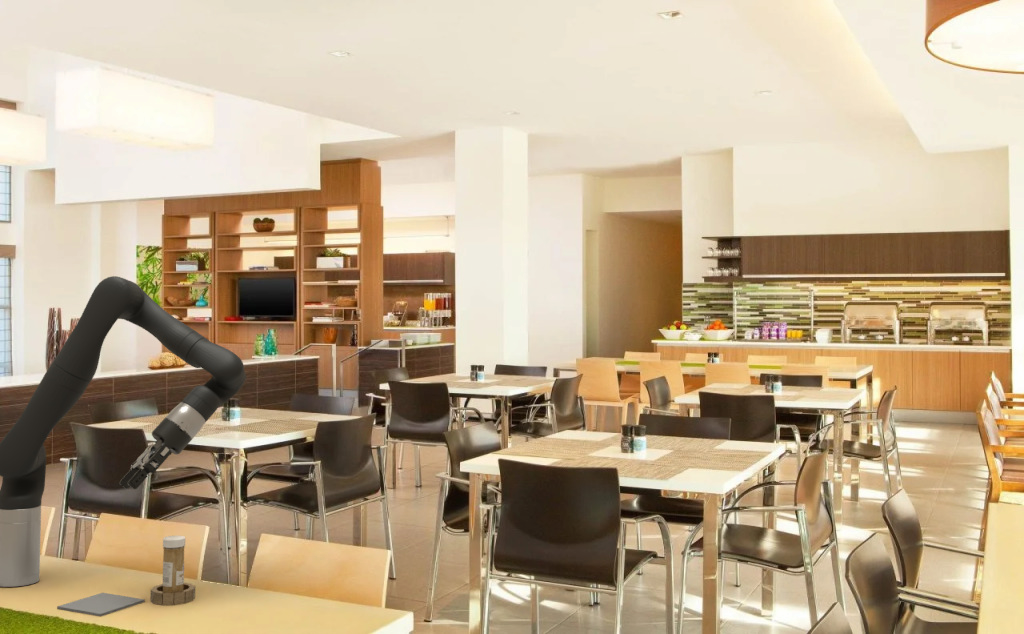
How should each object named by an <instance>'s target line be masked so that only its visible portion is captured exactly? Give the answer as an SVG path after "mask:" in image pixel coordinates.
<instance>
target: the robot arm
mask: <svg viewBox="0 0 1024 634" xmlns="http://www.w3.org/2000/svg"><path fill="white" fill-rule="evenodd" d="M85 305H86V306H85V308H84V309H83V311H82V314H81V316H80V318H79V319H78V322H77V323H76V324H75V327H74V329H72V332H70V335H68V337H67V339H66V341H65V342H64V344H63V346H62V347H61V349H60V351H59V352H58V353H57V355H56V356H55V357H54V359H53V361H52V362H51V364H50V365H49V367H48V369H47V370H46V372H45V374H44V375H43V377H42V378H41V380H40V383H39V384H38V385H37V387H36V388H35V391H33V394H32V395H31V397H30V400H29V401H28V402H27V405H26V407H25V408H24V410H23V411H22V413H21V415H20V416H19V417H18V419H17V420H16V422H15V423H14V424H13V426H12V427H11V428H10V429H9V430H8V432H7V433H6V434H5V436H4V437H3V438H2V439H1V440H0V477H2V482H1V486H0V587H4V588H8V587H9V588H10V587H13V588H14V587H22V586H28V585H33V584H36V583H38V582H39V581H40V576H41V575H40V573H41V572H40V571H41V569H40V568H41V567H40V566H41V535H42V533H41V531H42V527H41V526H42V499H43V495H44V493H45V492H44V491H45V486H46V473H47V469H46V468H47V467H46V466H47V452H46V448H45V445H44V443H45V442H46V440H47V438H48V437H49V436H50V433H51V432H52V431H53V429H54V428H55V427H56V426H57V425H58V423H60V421H61V420H62V419H63V418H64V417H65V416H66V415H67V413H68V412H70V410H72V408H74V406H75V405H76V404H77V403H78V401H79V400H80V399H81V398H82V396H83V394H84V393H85V391H86V390H87V389H88V386H89V385H90V383H91V382H92V381H93V379H94V377H95V375H96V372H97V369H98V367H99V361H100V357H101V351H102V348H103V347H102V346H103V345H104V342H105V340H106V337H107V336H108V334H109V332H110V331H111V329H112V328H113V326H114V324H115V323H116V322H117V321H118V320H119V319H120V320H124V321H126V322H129V323H131V324H133V325H135V326H138V327H139V328H141V329H143V330H145V331H147V332H148V333H149V334H150V335H152V336H153V337H154V338H155V339H156V340H158V341H159V342H160V344H162V345H163V346H164V347H165V348H166V349H167V351H170V352H171V353H172V354H173V355H175V356H176V357H178V358H179V359H181V360H182V361H184V362H185V363H186V364H187V365H189V366H191V367H193V368H195V369H203V370H204V371H206V372H208V373H209V374H210V375H211V376H212V377H211V378H210V379H209V380H208V381H207V382H205V383H204V384H203V385H201V384H200V385H197V386H194V388H192V390H190V392H189V393H188V394H187V395H185V397H184V398H183V400H182V401H180V402H179V404H177V405H176V406H175V407H174V408H173V409H171V410H170V411H169V413H168V414H166V416H165V417H164V418H163V419H162V421H160V423H159V424H158V425H156V427H155V428H154V429H153V430H152V432H151V436H152V438H153V439H154V440H156V443H154V444H153V445H149V446H147V447H146V448H145V450H144V451H143V452H142V453H141V454H140V455H139V456H138V457H137V459H136V460H135V461H134V462H132V463H131V465H130V469H129V470H128V472H127V473H126V474H125V475H124V476H123V477H122V478H121V479H120V481H119V485H120V486H121V487H123V488H124V489H129V488H131V489H133V490H136V489H138V488H139V487H140V485H142V483H143V482H144V481H146V479H148V476H152V474H154V473H156V472H157V470H158V469H159V468H160V467H161V465H162V464H164V462H165V461H166V460H167V459H168V457H169V456H170V455H172V454H174V455H179V454H180V453H182V451H183V450H184V449H186V447H187V446H188V445H189V444H190V443H191V442H192V440H193V439H194V438H195V437H196V436H197V435H198V434H199V432H200V431H201V430H202V428H203V427H204V425H205V424H206V423H207V422H208V420H209V419H210V418H211V417H212V416H213V415H214V414H215V412H217V410H218V408H220V407H221V406H222V405H224V404H225V403H227V402H228V401H229V400H230V399H231V398H233V397H234V396H235V395H237V393H238V392H239V391H240V390H241V389H242V387H243V386H244V384H245V381H246V378H247V377H246V376H247V375H246V371H245V366H244V363H243V360H242V359H241V358H240V356H238V355H237V354H236V353H235V352H233V351H231V350H230V349H228V348H226V347H225V346H224V347H223V346H221V345H219V344H217V343H214V342H212V341H210V339H208V338H207V337H205V336H203V335H202V334H201V333H199V332H197V330H195V329H194V328H191V327H190V326H189V325H187V324H185V323H184V322H182V321H180V319H178V318H176V317H174V316H173V315H171V314H170V313H169V312H168V311H166V310H165V309H164V308H162V307H161V306H160V305H158V303H157V302H155V301H154V300H153V299H152V297H150V296H149V295H148V293H146V292H145V290H143V289H142V288H141V287H140V285H138V284H137V283H136V282H134V281H132V280H128V279H126V278H124V277H121V276H114V275H113V276H108V277H106V278H104V279H102V280H101V281H100V282H99V283H98V284H97V286H96V287H95V288H94V290H93V292H92V293H91V295H90V298H89V300H88V301H87V303H86V304H85Z"/></svg>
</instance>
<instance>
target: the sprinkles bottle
mask: <svg viewBox="0 0 1024 634" xmlns="http://www.w3.org/2000/svg"><path fill="white" fill-rule="evenodd" d="M162 547H163V560H162V584H163V592H177V591H183V590H184V583H185V547H186V537H185V535H184V536H183V535H168V536H164V537H163V539H162Z"/></svg>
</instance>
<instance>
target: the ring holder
mask: <svg viewBox="0 0 1024 634" xmlns="http://www.w3.org/2000/svg"><path fill="white" fill-rule="evenodd" d="M195 598H196V586H195V585H194V584H193V583H190V582H189V583H188V582H184V590H183V591H177V592H163V583H162V584H158V585H154V586H153V587H152V588H151V589H150V597H149V599H150V602H151V603H152V604H153V605H158V606H177V605H183V604H185V605H186V604H187V603H191V602H193V601H194V600H195Z"/></svg>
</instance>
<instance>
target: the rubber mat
mask: <svg viewBox="0 0 1024 634" xmlns="http://www.w3.org/2000/svg"><path fill="white" fill-rule="evenodd" d="M145 602H146V599H144V598H139V597H138V598H137V597H132V596H126V595H119V594H114V593H107V592H100V593H96V594H93V595H90V596H87V597H83V598H79V599H77V600H74V601H70V602H68V603H63V604H60V605H58V606H56V609H57V610H60V611H61V610H62V611H67V612H72V613H79V614H84V615H91V616H96V617H104V616H106V615H109V614H111V613H115V612H118V611H121V610H124V609H127V608H131V607H133V606H136V605H139V604H142V603H145Z"/></svg>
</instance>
